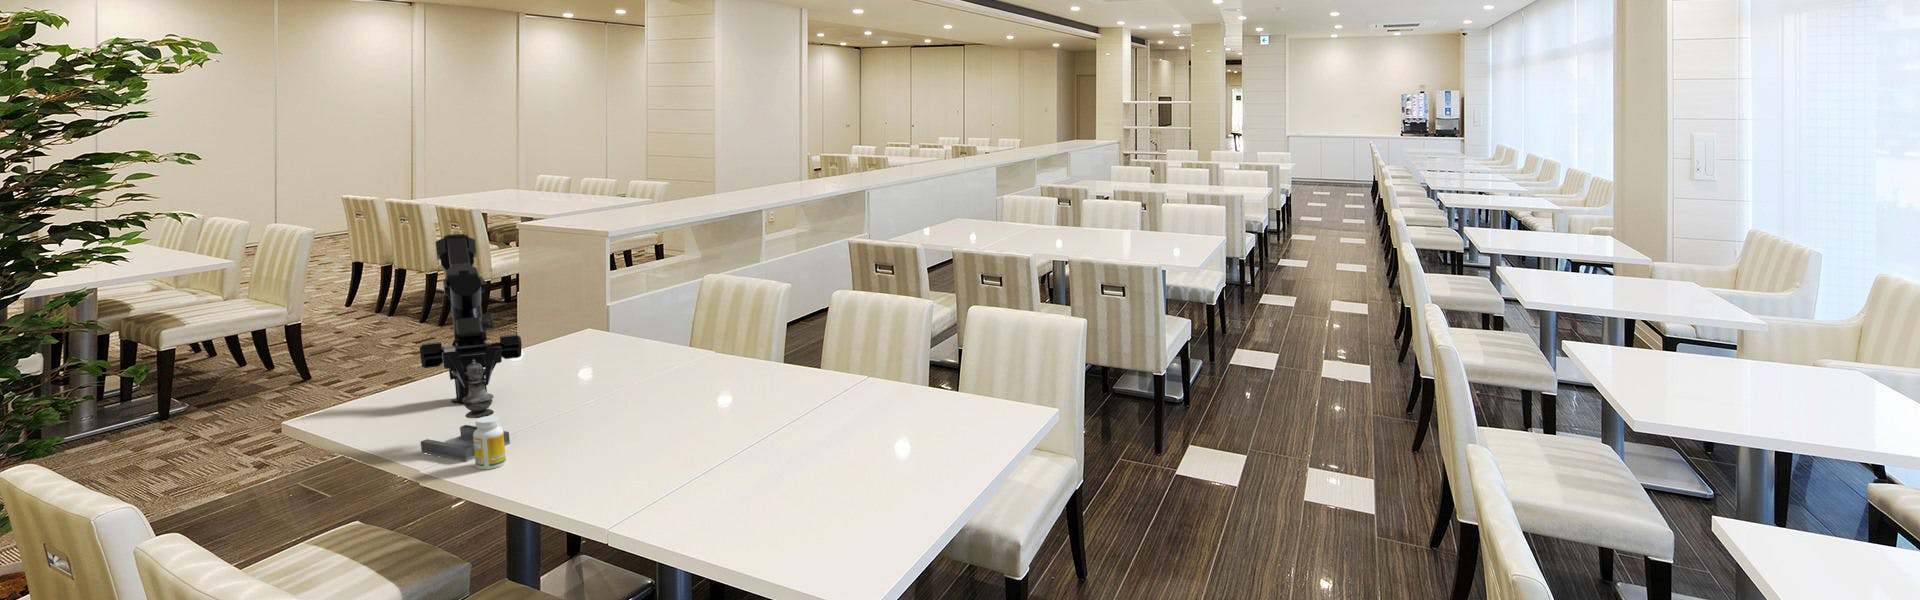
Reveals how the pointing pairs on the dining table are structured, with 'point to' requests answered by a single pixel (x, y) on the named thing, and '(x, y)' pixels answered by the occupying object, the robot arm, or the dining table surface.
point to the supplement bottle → (489, 443)
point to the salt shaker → (477, 393)
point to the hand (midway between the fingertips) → (476, 385)
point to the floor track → (456, 445)
